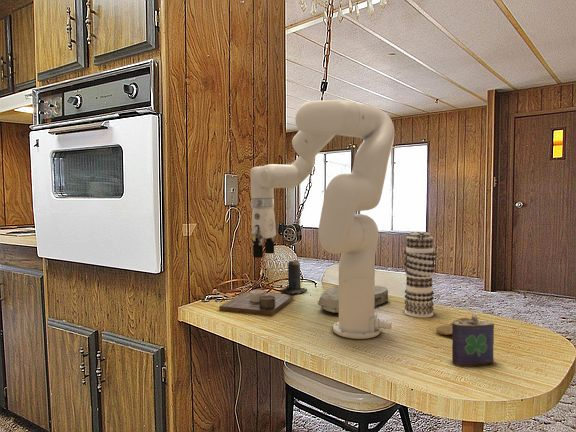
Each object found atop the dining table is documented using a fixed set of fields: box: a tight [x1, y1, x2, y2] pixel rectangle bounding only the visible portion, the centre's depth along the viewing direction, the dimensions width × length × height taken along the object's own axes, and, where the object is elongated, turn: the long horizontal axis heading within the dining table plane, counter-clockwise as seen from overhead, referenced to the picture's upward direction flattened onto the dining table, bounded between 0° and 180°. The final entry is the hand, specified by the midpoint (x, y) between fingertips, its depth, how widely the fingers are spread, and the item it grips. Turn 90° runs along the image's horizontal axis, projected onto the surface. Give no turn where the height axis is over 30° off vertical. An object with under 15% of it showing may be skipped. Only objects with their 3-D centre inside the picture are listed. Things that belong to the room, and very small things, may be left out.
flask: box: [451, 314, 495, 367], centre depth 90 cm, size 9×3×11 cm, turn 95°
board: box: [218, 291, 294, 317], centre depth 138 cm, size 18×20×2 cm
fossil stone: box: [317, 285, 389, 314], centre depth 136 cm, size 28×15×5 cm, turn 131°
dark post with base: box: [279, 259, 308, 296], centre depth 154 cm, size 9×8×12 cm
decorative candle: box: [403, 231, 437, 319], centre depth 126 cm, size 9×9×25 cm
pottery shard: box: [435, 317, 471, 336], centre depth 109 cm, size 11×4×10 cm
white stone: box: [249, 289, 266, 302], centre depth 138 cm, size 5×5×3 cm
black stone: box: [259, 295, 275, 309], centre depth 130 cm, size 5×5×3 cm
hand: (264, 255), depth 138 cm, fingers open, 9 cm apart
